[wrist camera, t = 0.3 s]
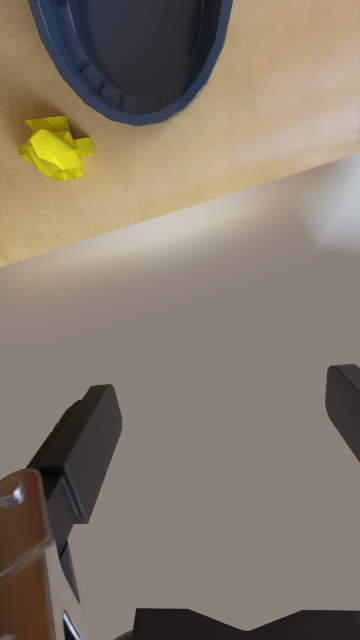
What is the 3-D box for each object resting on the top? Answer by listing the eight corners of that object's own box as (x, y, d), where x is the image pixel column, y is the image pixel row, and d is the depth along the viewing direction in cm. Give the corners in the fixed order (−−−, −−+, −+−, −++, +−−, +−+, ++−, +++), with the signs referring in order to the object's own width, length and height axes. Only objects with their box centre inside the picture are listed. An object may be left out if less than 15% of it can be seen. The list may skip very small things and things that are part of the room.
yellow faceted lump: (18, 122, 29) (-29, 124, 23) (84, 113, 28) (54, 114, 22) (40, 179, 33) (5, 194, 27) (99, 173, 32) (77, 187, 26)
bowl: (25, 13, 24) (-16, -10, 19) (130, -242, 17) (104, -378, 12) (148, 156, 31) (139, 164, 26) (260, 20, 23) (276, -2, 19)
